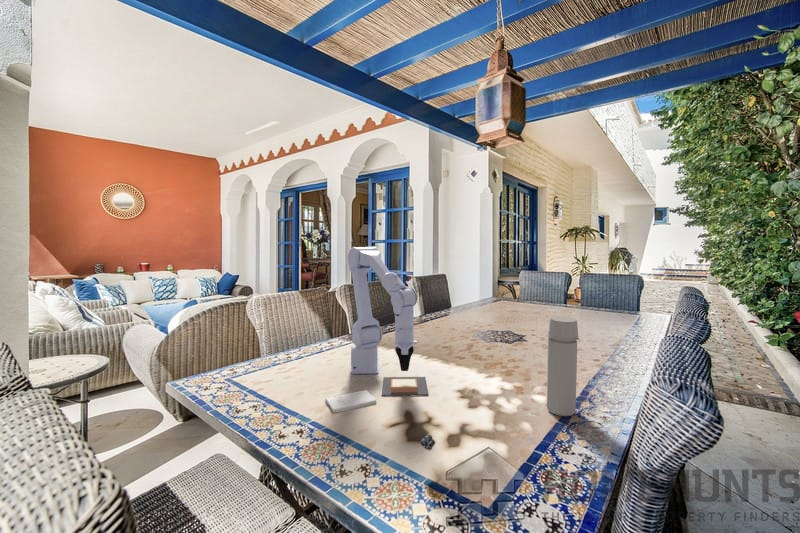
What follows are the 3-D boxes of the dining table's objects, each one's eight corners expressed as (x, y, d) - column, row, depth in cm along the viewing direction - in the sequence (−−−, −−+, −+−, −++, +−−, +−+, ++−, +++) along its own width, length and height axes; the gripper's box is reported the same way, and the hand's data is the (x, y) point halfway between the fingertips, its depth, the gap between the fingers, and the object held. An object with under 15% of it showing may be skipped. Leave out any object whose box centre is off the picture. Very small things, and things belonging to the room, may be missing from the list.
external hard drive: (376, 405, 102) (333, 415, 97) (365, 394, 110) (325, 402, 104) (376, 399, 102) (333, 409, 97) (365, 389, 109) (325, 397, 104)
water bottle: (575, 421, 91) (577, 323, 89) (542, 413, 95) (544, 320, 94) (579, 406, 99) (581, 316, 97) (548, 400, 103) (550, 314, 101)
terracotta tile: (391, 384, 115) (390, 392, 108) (391, 378, 115) (390, 387, 108) (416, 383, 115) (417, 392, 108) (416, 378, 115) (417, 386, 108)
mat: (381, 396, 107) (381, 394, 107) (383, 378, 121) (383, 377, 121) (428, 395, 107) (428, 394, 107) (425, 377, 121) (425, 376, 121)
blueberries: (442, 437, 86) (442, 429, 86) (447, 454, 78) (447, 445, 78) (414, 438, 86) (414, 430, 86) (416, 455, 78) (416, 446, 78)
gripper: (418, 333, 104) (418, 378, 105) (416, 322, 119) (416, 362, 120) (394, 333, 104) (394, 379, 105) (394, 322, 119) (395, 362, 120)
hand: (404, 370), depth 113 cm, fingers closed
